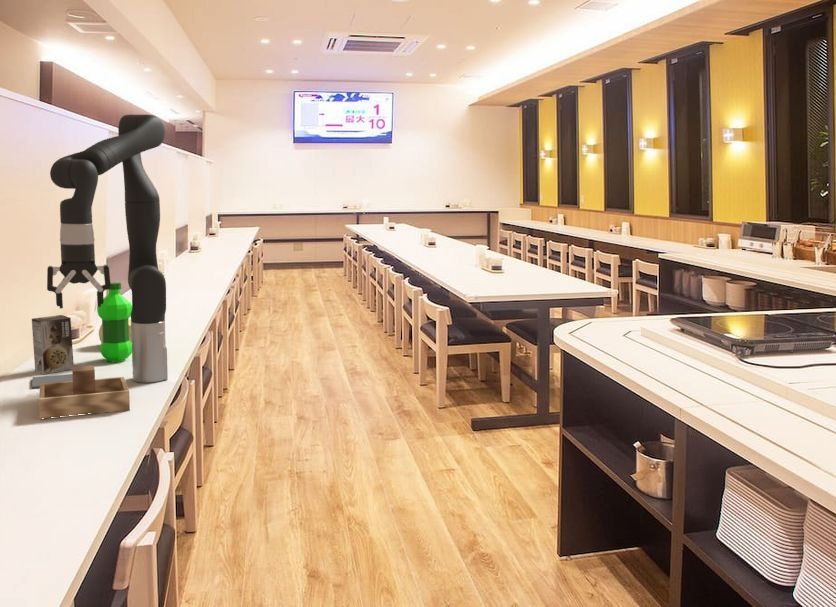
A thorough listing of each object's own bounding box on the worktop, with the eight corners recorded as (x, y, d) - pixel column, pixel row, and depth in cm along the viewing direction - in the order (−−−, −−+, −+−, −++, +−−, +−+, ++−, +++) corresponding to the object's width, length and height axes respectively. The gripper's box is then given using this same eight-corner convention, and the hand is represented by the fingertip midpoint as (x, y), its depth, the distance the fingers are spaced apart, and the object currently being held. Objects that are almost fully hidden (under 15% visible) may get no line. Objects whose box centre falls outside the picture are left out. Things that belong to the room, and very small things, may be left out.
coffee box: (64, 365, 223) (61, 314, 220) (74, 369, 219) (71, 317, 216) (33, 370, 216) (30, 318, 213) (43, 374, 212) (40, 320, 209)
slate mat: (75, 375, 211) (75, 373, 211) (76, 385, 202) (76, 382, 201) (32, 379, 206) (32, 377, 206) (31, 388, 197) (31, 386, 197)
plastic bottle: (139, 357, 236) (137, 281, 232) (123, 364, 226) (120, 286, 222) (110, 355, 237) (107, 280, 233) (93, 363, 227) (89, 284, 223)
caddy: (124, 394, 193) (124, 376, 193) (129, 410, 180) (129, 391, 179) (41, 402, 185) (40, 383, 184) (40, 419, 171) (38, 399, 171)
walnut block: (95, 402, 186) (93, 365, 184) (96, 408, 181) (94, 369, 180) (73, 405, 184) (72, 366, 182) (74, 410, 179) (72, 371, 178)
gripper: (107, 240, 183) (110, 303, 185) (44, 241, 176) (48, 306, 179) (109, 243, 176) (112, 308, 178) (44, 243, 170) (48, 311, 172)
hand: (80, 307), depth 179 cm, fingers open, 8 cm apart
